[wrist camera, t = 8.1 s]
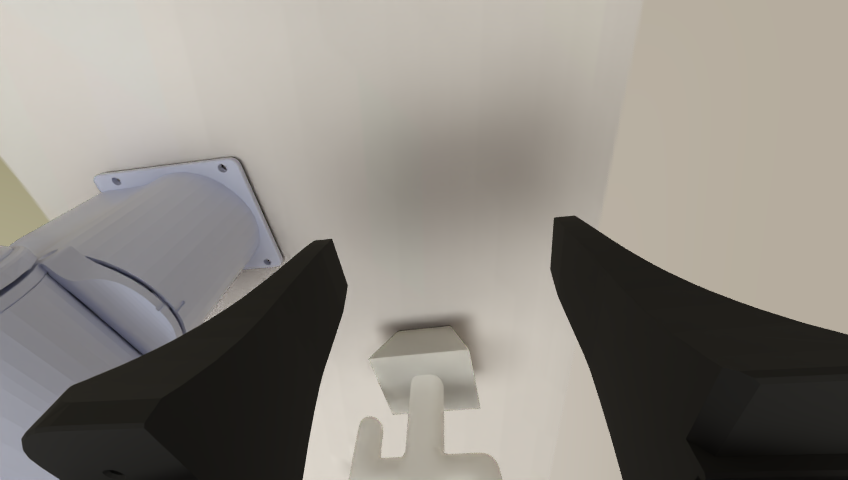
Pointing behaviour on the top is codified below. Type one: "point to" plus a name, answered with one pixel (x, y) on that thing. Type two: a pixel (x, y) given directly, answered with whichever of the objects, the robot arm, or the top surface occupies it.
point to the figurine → (422, 409)
